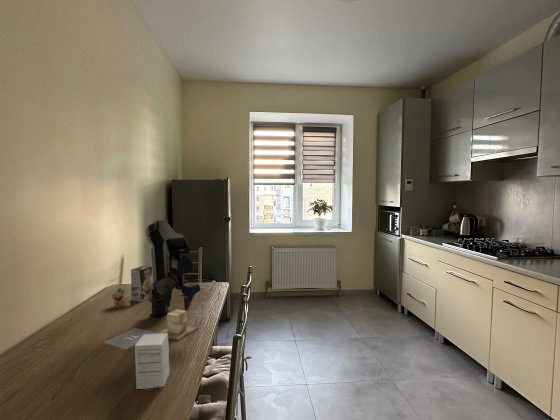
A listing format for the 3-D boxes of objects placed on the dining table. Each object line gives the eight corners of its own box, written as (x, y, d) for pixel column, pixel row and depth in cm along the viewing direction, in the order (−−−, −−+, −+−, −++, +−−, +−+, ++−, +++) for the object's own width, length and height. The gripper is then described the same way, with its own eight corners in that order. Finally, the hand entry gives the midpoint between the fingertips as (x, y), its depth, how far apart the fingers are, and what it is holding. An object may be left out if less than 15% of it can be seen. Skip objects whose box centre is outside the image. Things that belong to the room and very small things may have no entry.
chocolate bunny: (121, 303, 159) (121, 283, 158) (132, 305, 155) (131, 285, 154) (111, 306, 154) (110, 286, 153) (122, 309, 150) (121, 288, 149)
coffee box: (142, 302, 160) (141, 270, 159) (131, 301, 161) (130, 269, 160) (153, 296, 169) (152, 265, 168) (142, 295, 170) (141, 265, 169)
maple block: (177, 326, 128) (176, 309, 127) (186, 328, 126) (186, 311, 125) (167, 331, 123) (167, 313, 123) (177, 333, 121) (177, 315, 121)
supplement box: (144, 375, 95) (143, 333, 94) (170, 374, 96) (168, 332, 95) (135, 390, 88) (133, 345, 87) (163, 389, 88) (161, 344, 88)
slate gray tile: (135, 328, 129) (135, 327, 129) (157, 334, 124) (157, 333, 124) (102, 343, 116) (102, 342, 116) (125, 350, 111) (125, 349, 111)
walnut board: (177, 324, 132) (177, 322, 132) (198, 329, 127) (198, 327, 127) (156, 335, 122) (156, 333, 122) (178, 340, 117) (178, 338, 117)
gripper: (141, 271, 120) (142, 312, 121) (179, 276, 112) (180, 320, 113) (163, 265, 130) (165, 303, 131) (200, 269, 122) (201, 309, 123)
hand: (177, 308), depth 124 cm, fingers open, 9 cm apart
